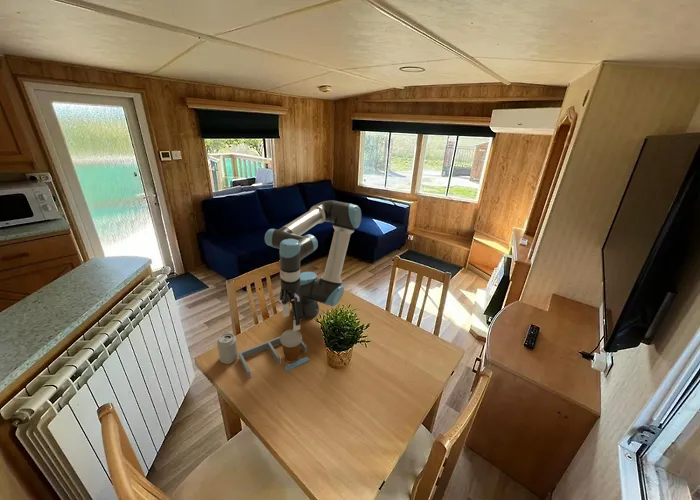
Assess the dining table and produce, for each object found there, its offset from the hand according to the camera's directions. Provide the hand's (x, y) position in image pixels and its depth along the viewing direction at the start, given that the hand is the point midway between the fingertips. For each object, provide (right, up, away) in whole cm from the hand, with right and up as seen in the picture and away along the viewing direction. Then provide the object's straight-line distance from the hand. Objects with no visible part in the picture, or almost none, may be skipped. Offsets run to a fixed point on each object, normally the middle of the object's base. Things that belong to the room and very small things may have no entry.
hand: (291, 322), depth 119 cm
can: (-29, -17, +5) cm, 34 cm away
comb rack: (-10, -17, +8) cm, 21 cm away
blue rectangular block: (+2, -20, +5) cm, 20 cm away
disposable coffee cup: (-2, -18, +9) cm, 20 cm away
